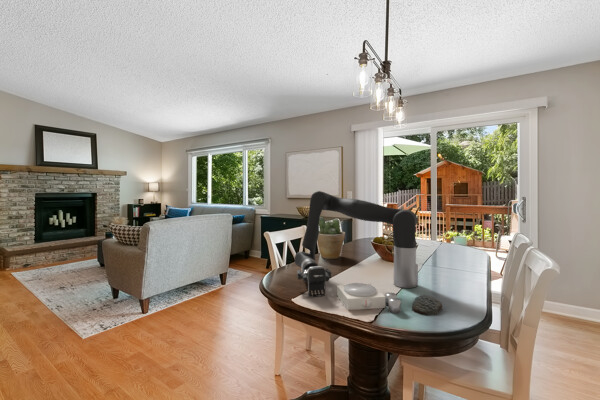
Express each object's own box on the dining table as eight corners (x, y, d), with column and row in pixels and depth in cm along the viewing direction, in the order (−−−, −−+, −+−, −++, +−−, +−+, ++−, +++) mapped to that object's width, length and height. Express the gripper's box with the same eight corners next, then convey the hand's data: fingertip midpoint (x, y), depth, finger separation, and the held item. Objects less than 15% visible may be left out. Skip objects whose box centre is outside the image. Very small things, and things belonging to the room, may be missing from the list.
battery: (309, 298, 110) (309, 269, 110) (307, 294, 114) (307, 266, 114) (326, 296, 112) (326, 268, 112) (323, 293, 116) (323, 265, 115)
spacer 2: (397, 308, 101) (397, 297, 101) (402, 313, 97) (402, 301, 97) (386, 309, 100) (386, 298, 100) (391, 314, 96) (391, 302, 96)
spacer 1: (393, 302, 106) (393, 292, 106) (398, 307, 102) (398, 296, 102) (383, 303, 105) (383, 292, 105) (387, 307, 101) (388, 296, 101)
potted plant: (344, 253, 187) (344, 216, 186) (345, 260, 168) (346, 219, 167) (316, 253, 188) (316, 216, 188) (315, 260, 170) (315, 218, 169)
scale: (370, 293, 115) (370, 281, 115) (386, 308, 101) (386, 294, 100) (337, 295, 113) (337, 283, 113) (348, 310, 99) (348, 296, 99)
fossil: (445, 307, 102) (446, 297, 102) (432, 319, 93) (433, 307, 93) (417, 300, 109) (418, 290, 109) (403, 310, 100) (403, 299, 100)
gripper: (294, 260, 128) (299, 270, 112) (325, 259, 130) (334, 269, 114) (294, 277, 128) (299, 289, 112) (325, 275, 130) (334, 287, 114)
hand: (316, 279), depth 113 cm, fingers open, 8 cm apart
